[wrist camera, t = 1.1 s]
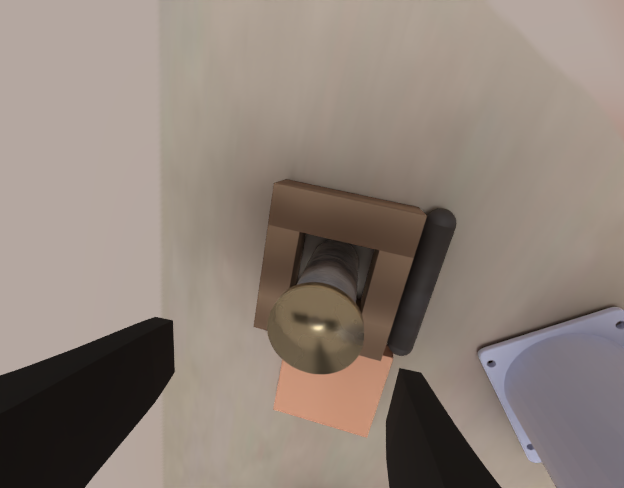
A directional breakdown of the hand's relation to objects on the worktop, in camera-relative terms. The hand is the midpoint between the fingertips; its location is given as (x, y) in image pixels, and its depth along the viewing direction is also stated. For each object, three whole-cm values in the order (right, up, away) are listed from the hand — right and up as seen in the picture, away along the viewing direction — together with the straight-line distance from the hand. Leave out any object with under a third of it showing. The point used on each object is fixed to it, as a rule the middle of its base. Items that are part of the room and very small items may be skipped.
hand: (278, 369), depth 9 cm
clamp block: (+3, +3, +10) cm, 11 cm away
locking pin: (+3, +3, +10) cm, 11 cm away
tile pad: (+2, -5, +12) cm, 14 cm away
